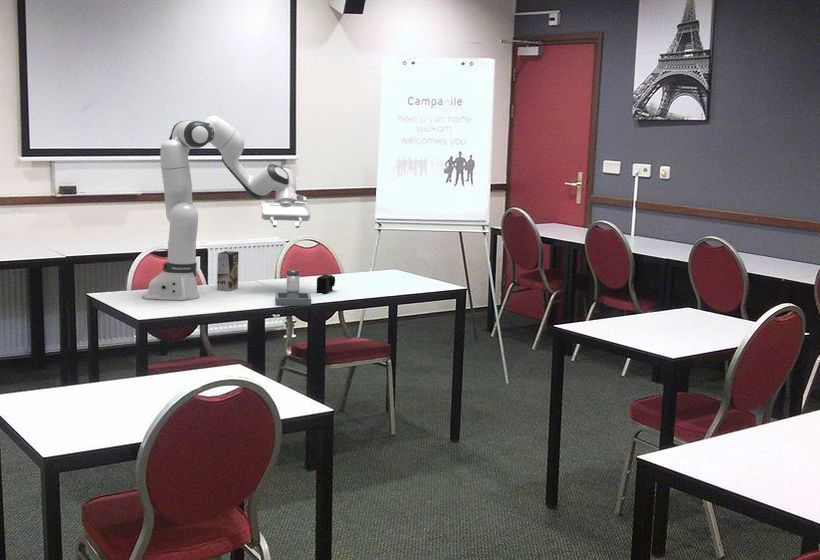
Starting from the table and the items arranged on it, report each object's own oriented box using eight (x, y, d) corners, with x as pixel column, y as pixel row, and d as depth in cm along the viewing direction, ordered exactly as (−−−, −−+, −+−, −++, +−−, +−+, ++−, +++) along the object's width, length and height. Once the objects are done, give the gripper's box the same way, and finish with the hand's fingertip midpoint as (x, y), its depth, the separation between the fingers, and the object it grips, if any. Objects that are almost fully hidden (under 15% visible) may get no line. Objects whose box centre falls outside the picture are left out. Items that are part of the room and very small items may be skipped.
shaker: (286, 302, 387) (286, 271, 385) (285, 300, 392) (286, 269, 390) (299, 302, 388) (300, 271, 386) (299, 300, 393) (299, 269, 391)
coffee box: (230, 291, 410) (231, 253, 407) (216, 290, 411) (216, 252, 409) (238, 288, 419) (239, 251, 416) (224, 286, 420) (225, 250, 417)
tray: (275, 305, 382) (276, 298, 382) (275, 299, 396) (275, 292, 395) (311, 306, 384) (311, 298, 384) (309, 299, 398) (309, 292, 398)
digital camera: (328, 294, 413) (329, 278, 412) (316, 293, 414) (316, 277, 413) (335, 290, 423) (335, 275, 422) (323, 289, 424) (323, 274, 423)
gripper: (261, 195, 404) (261, 221, 396) (310, 197, 407) (310, 222, 399) (261, 205, 409) (260, 230, 401) (309, 206, 412) (309, 232, 404)
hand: (286, 226), depth 400 cm, fingers open, 8 cm apart
